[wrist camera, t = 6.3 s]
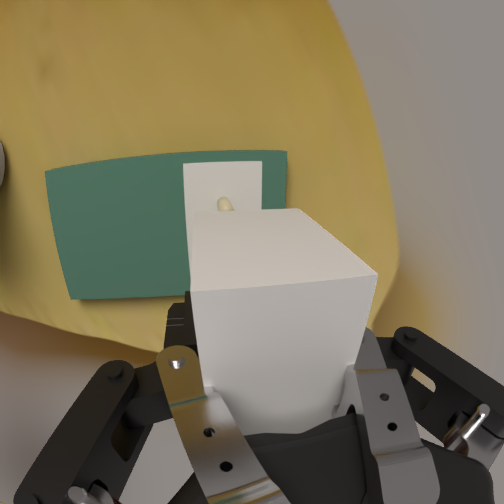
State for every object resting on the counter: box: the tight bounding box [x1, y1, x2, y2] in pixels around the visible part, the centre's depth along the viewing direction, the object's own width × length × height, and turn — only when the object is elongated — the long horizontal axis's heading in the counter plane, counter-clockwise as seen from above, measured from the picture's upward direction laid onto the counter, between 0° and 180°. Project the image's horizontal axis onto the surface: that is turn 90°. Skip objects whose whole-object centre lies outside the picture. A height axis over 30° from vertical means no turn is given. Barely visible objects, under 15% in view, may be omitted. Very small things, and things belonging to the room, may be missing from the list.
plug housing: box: [190, 209, 378, 436], centre depth 10 cm, size 8×4×6 cm, turn 0°
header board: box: [45, 150, 287, 300], centre depth 21 cm, size 20×12×4 cm, turn 90°
